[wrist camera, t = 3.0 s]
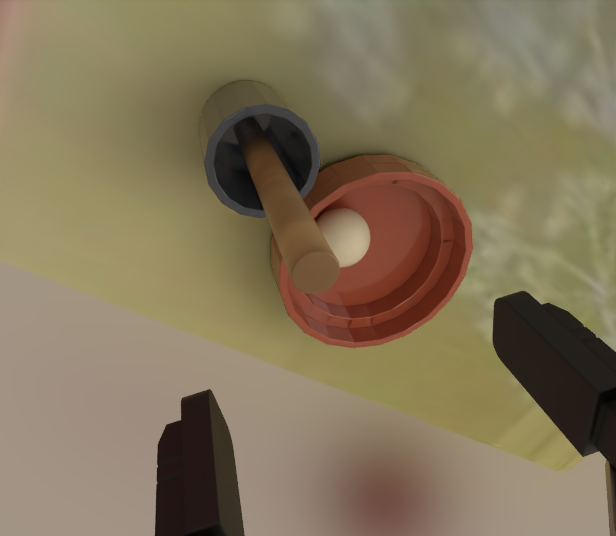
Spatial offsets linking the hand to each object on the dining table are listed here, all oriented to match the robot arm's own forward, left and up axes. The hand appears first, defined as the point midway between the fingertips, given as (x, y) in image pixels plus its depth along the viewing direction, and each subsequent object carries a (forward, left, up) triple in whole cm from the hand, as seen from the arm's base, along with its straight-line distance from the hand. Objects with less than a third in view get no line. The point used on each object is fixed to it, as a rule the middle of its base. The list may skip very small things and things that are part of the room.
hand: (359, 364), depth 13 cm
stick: (0, 0, -23) cm, 23 cm away
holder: (0, 0, -23) cm, 23 cm away
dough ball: (+2, +10, -23) cm, 25 cm away
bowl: (+2, +13, -23) cm, 27 cm away
